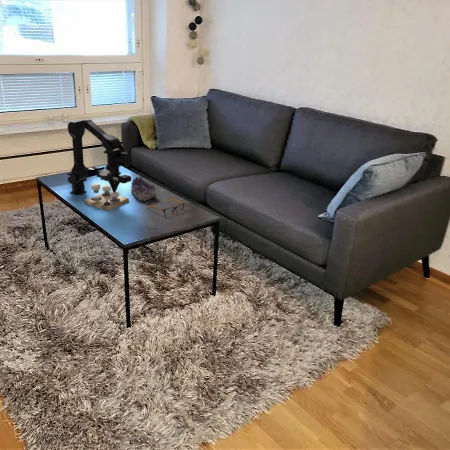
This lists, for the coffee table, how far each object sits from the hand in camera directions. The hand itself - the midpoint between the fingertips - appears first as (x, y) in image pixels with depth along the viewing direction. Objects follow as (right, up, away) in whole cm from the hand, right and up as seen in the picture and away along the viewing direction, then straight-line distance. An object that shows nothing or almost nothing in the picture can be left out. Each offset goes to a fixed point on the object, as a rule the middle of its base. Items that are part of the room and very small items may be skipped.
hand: (114, 191), depth 238 cm
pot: (-3, -7, -4) cm, 9 cm away
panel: (-5, -5, +4) cm, 8 cm away
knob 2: (-6, 0, +9) cm, 11 cm away
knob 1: (-10, 0, +1) cm, 10 cm away
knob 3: (0, -4, +2) cm, 4 cm away
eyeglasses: (+27, -9, +1) cm, 28 cm away
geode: (+11, -1, +17) cm, 20 cm away
